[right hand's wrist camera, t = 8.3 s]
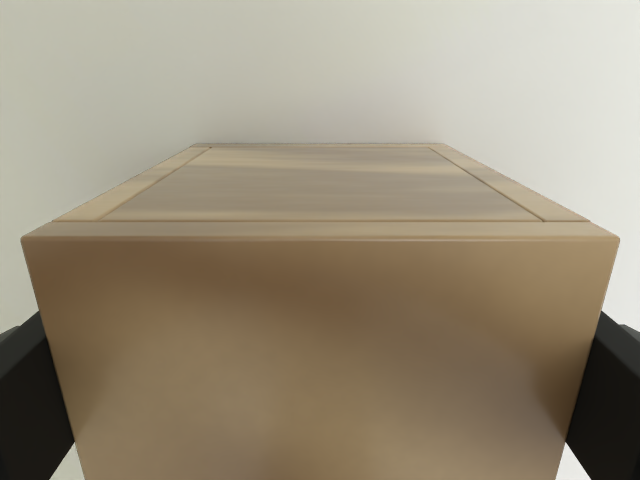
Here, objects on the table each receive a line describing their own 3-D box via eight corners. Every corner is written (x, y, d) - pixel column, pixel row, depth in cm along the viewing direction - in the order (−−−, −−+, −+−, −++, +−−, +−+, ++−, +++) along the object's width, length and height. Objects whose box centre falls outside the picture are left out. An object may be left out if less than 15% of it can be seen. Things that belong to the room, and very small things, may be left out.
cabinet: (413, 446, 24) (487, 735, 14) (226, 446, 24) (152, 736, 14) (444, 143, 18) (623, 237, 7) (194, 143, 18) (16, 237, 7)
